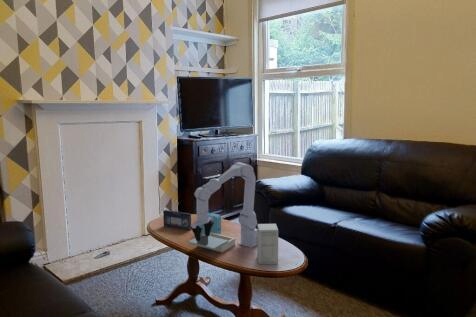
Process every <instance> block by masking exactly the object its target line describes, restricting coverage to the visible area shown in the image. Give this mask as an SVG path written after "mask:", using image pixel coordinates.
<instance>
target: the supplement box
mask: <svg viewBox="0 0 476 317" xmlns="http://www.w3.org/2000/svg"><path fill="white" fill-rule="evenodd" d="M256 227H257V228H256V229H257V245H256V247H257V250H256V252H257V254H256V255H257V256H256V257H257V262H258V265H275V264H276V265H278V264H279V229H278V226H277V223H257V225H256Z"/></svg>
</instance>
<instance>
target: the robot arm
mask: <svg viewBox="0 0 476 317" xmlns="http://www.w3.org/2000/svg"><path fill="white" fill-rule="evenodd" d="M254 171H255V170H254V168H253V166H252V165H251V164H248V163H243V162H240V161H238V162H237V161H236V162H235V163H234V164H232V165H231V166H230V167H229V169H227V170H226V171H224V173H222V174H221V175H220V176H219V177H217V178H210V179H209V181H208V182H206V183H205V184H203V185H202V186H199V187H197V188H196V190H195V192H193V195H194V197H195V198H196V218H195V219H194V220H195V221H194V222H193V223H191V231H192V233H193V235H194V238H196V241H200V237H201V235H202V234H201V231H202V228H200V227H199V226H200V225H202V224H204V228H205V236H209V235H210V231H211V228H212V226H213V224H214V222H211V221H213V217H210V216H209V217H208V213H209V200H210V199H211V196H212V195H213V194H214V193H216V192H217V191H218V190H219V189H220V188H222V184H224V183H225V182H227V181H229V180H230V179H231V178H234V177H240V178H242V179H244V192H243V207H242V210H240V214H239V216H238V223H239V225H240V241H239V242H237V244H238V245H241V246H244V247H247V248H248V247H249V248H254V247H255V246H256V247H257V228H256V227H257V224H258V220H257V214H256V212H255V210H254V206H255V195H256V194H255V193H256V192H255V191H256V180H257V179H256V175H255V172H254Z"/></svg>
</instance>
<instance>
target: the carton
mask: <svg viewBox="0 0 476 317" xmlns="http://www.w3.org/2000/svg"><path fill="white" fill-rule="evenodd" d="M209 236H212V237H216V238H220V239H224V240H228V242H227V243H225V244H224V245H222V246H220V247H218V248H216V249H214V250H213V249H209V248H205V247H202V246H198V245H196V246H197V247H198V248H202V249H206V250H209V251H213V252H217V253H221V254H223V253H225V252H226V251H228V250H230V249H232V248H234V247H235V246H236V237H233V236H228V235H223V234H215V233H210V235H209Z"/></svg>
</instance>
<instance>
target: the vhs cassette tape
mask: <svg viewBox="0 0 476 317" xmlns="http://www.w3.org/2000/svg"><path fill="white" fill-rule="evenodd" d="M162 212H163V213H162V216H163V218H162V219H163V227H165V228H170V229H171V228H172V229H176V230H182V231H188V232H189V231H192V229H191V226H192V213H190V212H189V213H188V212H184V211H183V212H182V211H175V210H169V209H168V210H167V209H165V210H163V211H162Z"/></svg>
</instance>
